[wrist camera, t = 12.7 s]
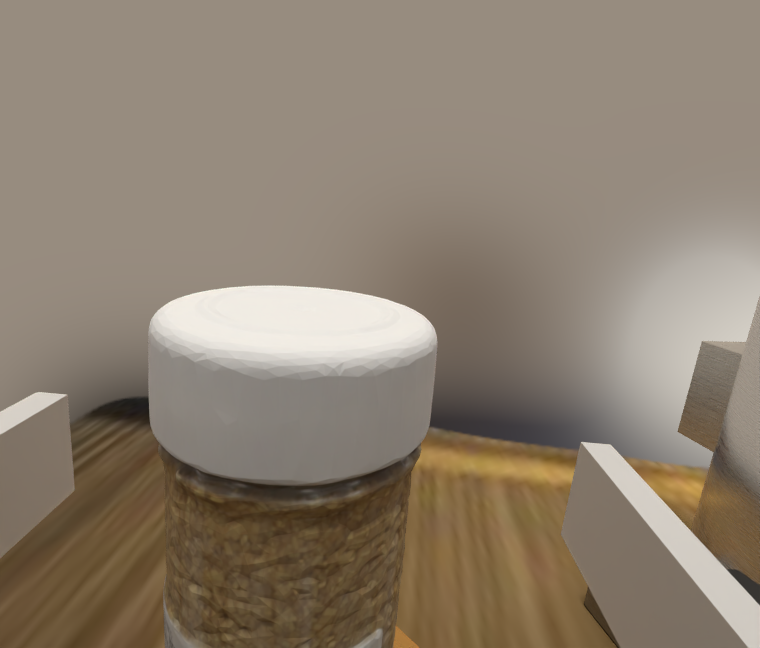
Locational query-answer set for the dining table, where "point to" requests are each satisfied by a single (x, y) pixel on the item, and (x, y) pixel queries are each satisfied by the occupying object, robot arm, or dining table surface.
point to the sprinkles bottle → (287, 462)
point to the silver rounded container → (718, 457)
